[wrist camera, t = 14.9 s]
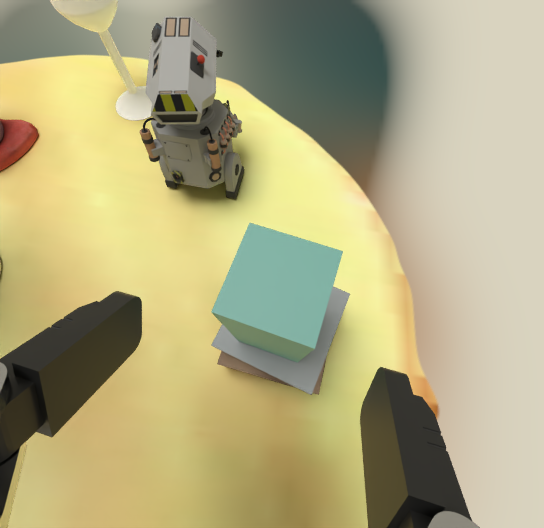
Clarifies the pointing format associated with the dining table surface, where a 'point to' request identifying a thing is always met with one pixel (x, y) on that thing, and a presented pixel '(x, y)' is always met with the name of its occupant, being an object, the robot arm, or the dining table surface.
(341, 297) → the gray top block
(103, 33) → the champagne flute
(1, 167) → the stacking bear
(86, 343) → the robot arm
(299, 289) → the green block
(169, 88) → the figurine
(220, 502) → the dining table surface
